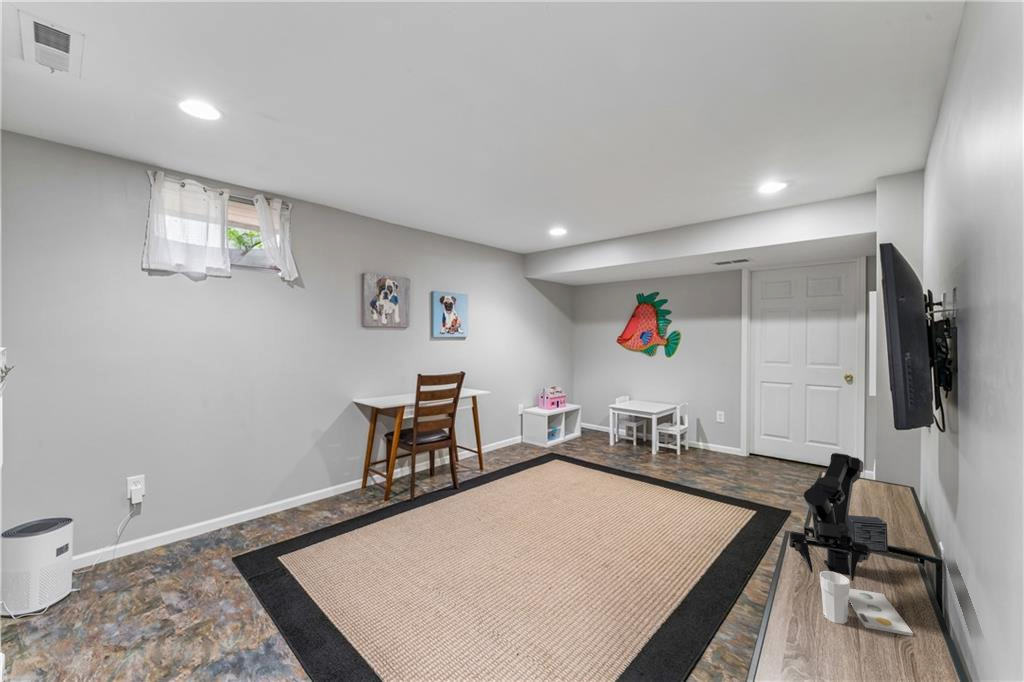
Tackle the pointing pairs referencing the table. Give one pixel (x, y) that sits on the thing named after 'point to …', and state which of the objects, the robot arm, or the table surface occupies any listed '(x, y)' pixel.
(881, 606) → the indicator panel
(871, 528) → the small box
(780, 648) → the table surface
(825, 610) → the cup
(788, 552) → the table surface
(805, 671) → the table surface
